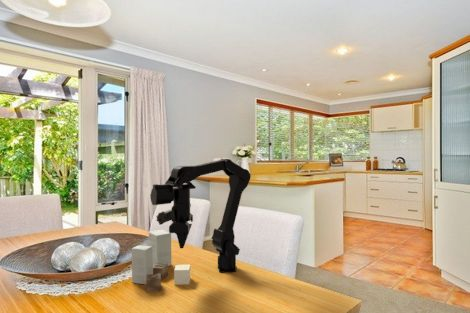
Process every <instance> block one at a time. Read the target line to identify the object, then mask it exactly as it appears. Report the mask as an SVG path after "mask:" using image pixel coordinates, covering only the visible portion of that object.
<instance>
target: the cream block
mask: <svg viewBox="0 0 470 313" xmlns="http://www.w3.org/2000/svg"><path fill="white" fill-rule="evenodd" d="M173 280H174V282H173V285H174V286H176V285H180V286H181V285H190V282H191V264H176V265H175V267H174V270H173Z"/></svg>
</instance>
